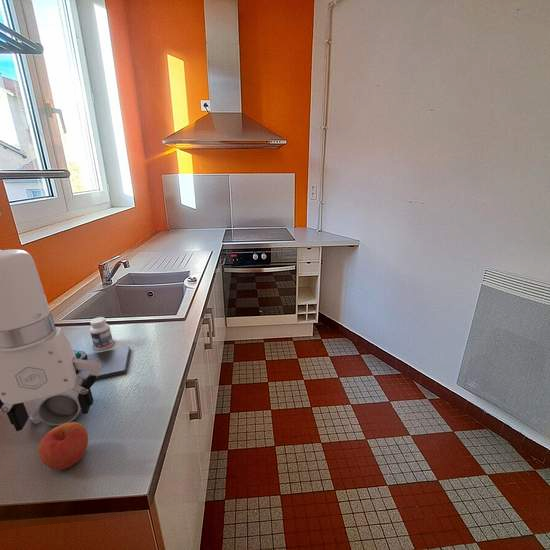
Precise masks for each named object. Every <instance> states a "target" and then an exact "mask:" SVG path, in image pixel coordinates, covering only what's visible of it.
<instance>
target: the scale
mask: <svg viewBox="0 0 550 550" xmlns="http://www.w3.org/2000/svg"><path fill="white" fill-rule="evenodd" d="M78 351H79V354H80V358H78V359H82V360H89V361H95V362H100V363H101V368H100V371H99V373H98V376H97V379H96V381H99V380H105V379H108V378H114V377H118V376H123V375H126V374H127V368H128V363H129V358H130V353H131V348H130V346H125V347H119V348H114V349H113V348H112V349H109V350H103V351H98V352H97V351H96V352H93V353H86V351H82V350H78ZM80 375H82V376H84V377H86V378H87V377H88V376H89V375H90V372H89V371H85V370H80Z"/></svg>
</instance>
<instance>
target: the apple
mask: <svg viewBox="0 0 550 550" xmlns="http://www.w3.org/2000/svg"><path fill="white" fill-rule="evenodd" d="M88 444H89V434H88V430H87V429H86V427H85V426H84V425H83V424H81V423H79V422H77V421H76V422H75V421H71V422H68V423H64V424H62V425H56V426H55V427H54V428H52V429H51V430H50V431H48V432H47V433H46V434H45V435H44V436H43V438H42V439H41V441H40V443H39V445H38V457H39V459H40V462H42V464H43V465H44V466H46V467H48V469H52V470H56V471H58V470H59V471H61V470H65V469H68V468H70V467H72V466H74V465H76V464H77V463H78V462H79V461H80V460H81V459H82V458H83V456H84V455H85V453H86V451H87V449H88Z"/></svg>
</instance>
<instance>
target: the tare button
mask: <svg viewBox="0 0 550 550" xmlns="http://www.w3.org/2000/svg"><path fill="white" fill-rule="evenodd" d="M73 351H74V354H75V356H76V358H77V359H78V358H80V354H79V351H80V350H78V349H73Z"/></svg>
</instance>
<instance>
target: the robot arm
mask: <svg viewBox="0 0 550 550" xmlns="http://www.w3.org/2000/svg"><path fill="white" fill-rule="evenodd" d="M73 350H74V349H73V347H72V345H71V343H70V341H69V339H68V337H67V336H66V335H65V333H64V331H63V330H62V328H61V327H60V326H59V327H58V326H57V327H56V323H55V322H54V318H53V315H52V312H51V309H50V306H49V303H48V300H47V296H46V293H45V290H44V287H43V284H42V282H41V278H40V275H39V272H38V269H37V266H36V263H35V260H34V258H33V256H32V255H31V253H30V252H28V251H26V250H23V249H0V413H2V414H6V415H7V417H8V420H9V422H10V425H12V426H13V427H14V429H15V431H16V432H21V431H22V430H23V429H24V427H25V426H26V424H27V422H28V420H29V419H30V416H29V413H28V410H27V409H26V408H27V407H26V406H25V403H27V402H31V401H36V400H40V399H41V400H42V399H43V398H45V397H49V396H54V395H58V394H62V393H65V392H68V391H70V390H74V391H76V392H78V393H79V394H78V401H79V404H80V407H81V409H80V411H81V413H82V414H83V415H87V414H89V411H90V408H91V406H93V404H94V397H93V393H92V389H91V388H92V386H93V385H94V384H95V383H96V382H97V380H96V379H97V376H98V373H99V371H100V368H101V363H100V362H95V361H89V360H82V359H77V358H76V356H75V354H74V351H73ZM80 370H85V371H89V372H90V375H89V376H88V377H87V378H86V377H84V376H82V375H80Z"/></svg>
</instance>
